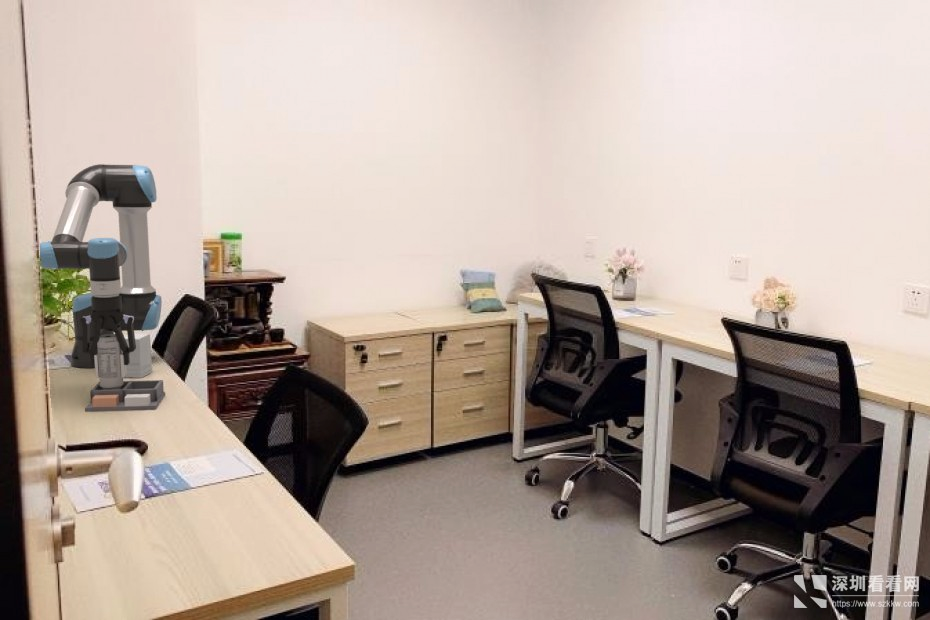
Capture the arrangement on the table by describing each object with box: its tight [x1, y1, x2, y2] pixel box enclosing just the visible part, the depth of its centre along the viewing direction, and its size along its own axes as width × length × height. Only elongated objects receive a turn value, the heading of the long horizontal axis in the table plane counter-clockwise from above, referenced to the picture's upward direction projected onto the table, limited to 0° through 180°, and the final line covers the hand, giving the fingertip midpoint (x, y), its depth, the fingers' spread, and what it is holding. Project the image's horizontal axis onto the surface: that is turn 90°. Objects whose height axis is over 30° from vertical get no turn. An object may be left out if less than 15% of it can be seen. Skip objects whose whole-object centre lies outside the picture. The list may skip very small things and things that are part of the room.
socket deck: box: [84, 379, 166, 412], centre depth 214 cm, size 13×18×4 cm
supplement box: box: [122, 332, 153, 379], centre depth 241 cm, size 7×7×13 cm
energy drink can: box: [97, 333, 124, 390], centre depth 213 cm, size 6×6×15 cm
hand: (111, 376), depth 214 cm, fingers closed on energy drink can, 6 cm apart
